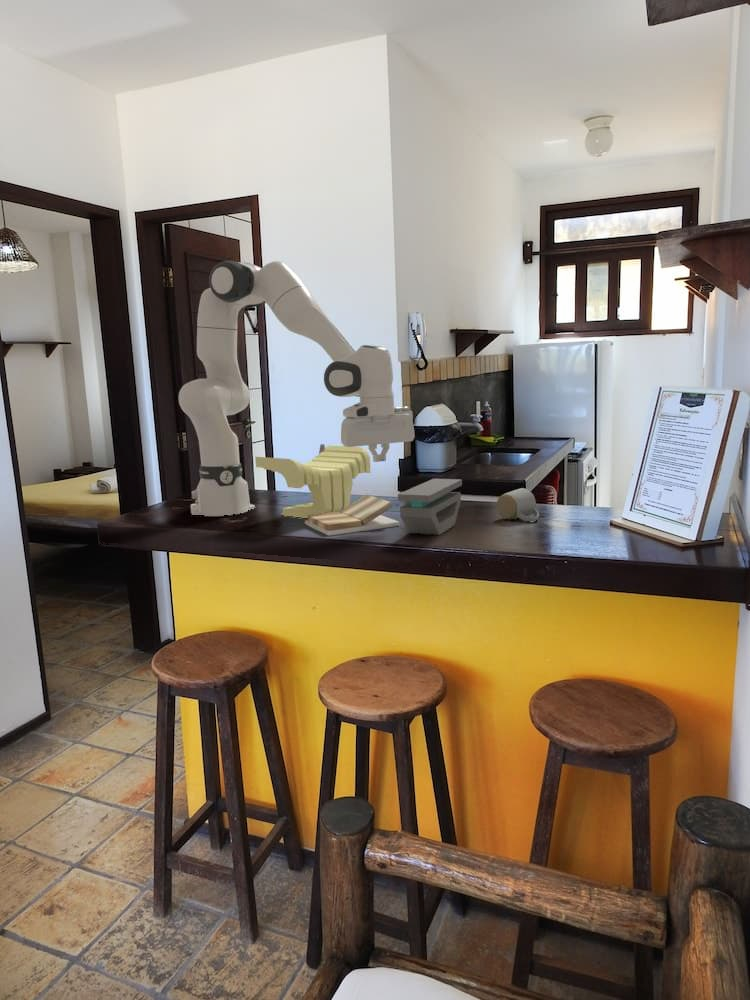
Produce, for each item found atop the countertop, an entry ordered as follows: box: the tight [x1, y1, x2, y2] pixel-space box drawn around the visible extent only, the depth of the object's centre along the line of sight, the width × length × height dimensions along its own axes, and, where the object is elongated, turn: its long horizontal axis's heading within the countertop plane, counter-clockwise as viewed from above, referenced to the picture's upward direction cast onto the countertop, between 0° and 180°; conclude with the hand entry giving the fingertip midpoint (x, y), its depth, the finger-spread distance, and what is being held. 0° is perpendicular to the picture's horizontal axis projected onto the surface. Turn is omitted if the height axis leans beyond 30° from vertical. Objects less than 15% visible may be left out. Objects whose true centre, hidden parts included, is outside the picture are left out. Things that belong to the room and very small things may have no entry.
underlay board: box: [304, 514, 401, 536], centre depth 186 cm, size 16×20×1 cm
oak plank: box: [307, 512, 361, 531], centre depth 184 cm, size 14×9×2 cm, turn 27°
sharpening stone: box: [397, 478, 463, 536], centre depth 178 cm, size 25×8×11 cm, turn 156°
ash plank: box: [340, 493, 393, 525], centre depth 187 cm, size 14×9×2 cm, turn 27°
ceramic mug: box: [496, 487, 540, 522], centre depth 186 cm, size 11×8×8 cm
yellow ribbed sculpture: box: [254, 445, 371, 519], centre depth 200 cm, size 30×16×18 cm, turn 143°
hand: (379, 461), depth 187 cm, fingers closed
